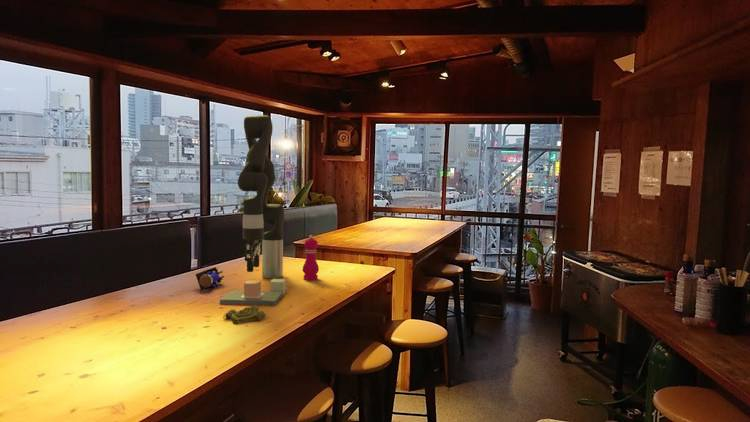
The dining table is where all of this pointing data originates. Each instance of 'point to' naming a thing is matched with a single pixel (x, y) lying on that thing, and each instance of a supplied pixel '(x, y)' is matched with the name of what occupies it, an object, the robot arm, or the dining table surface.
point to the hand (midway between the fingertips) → (253, 269)
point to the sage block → (278, 285)
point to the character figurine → (209, 278)
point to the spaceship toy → (245, 314)
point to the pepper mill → (310, 260)
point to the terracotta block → (252, 288)
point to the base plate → (251, 298)
